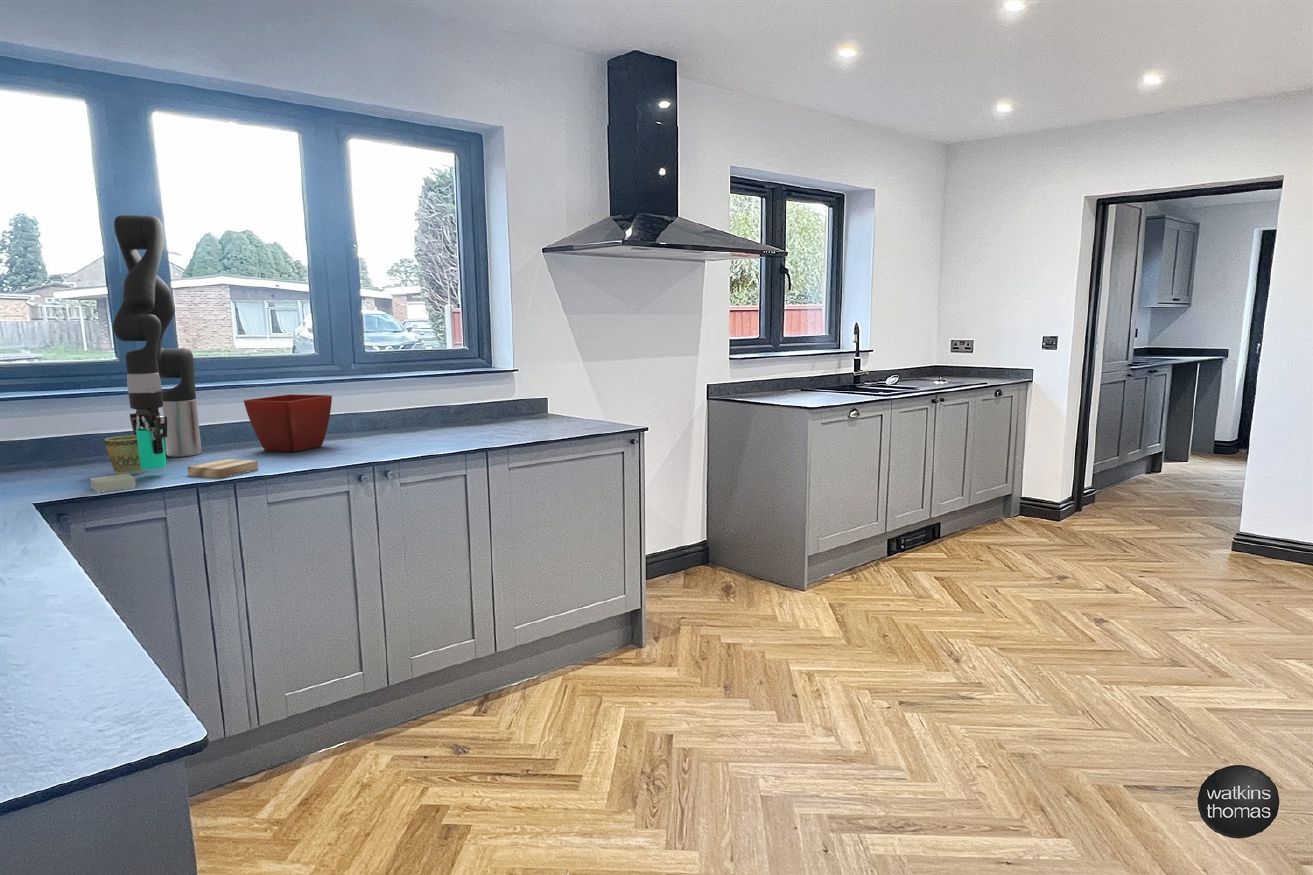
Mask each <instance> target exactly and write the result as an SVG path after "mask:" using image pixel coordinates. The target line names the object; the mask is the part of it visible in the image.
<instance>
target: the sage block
mask: <svg viewBox="0 0 1313 875" xmlns="http://www.w3.org/2000/svg"><path fill="white" fill-rule="evenodd" d="M89 481H90V488H92V490H93V489H94V490H95V491H94V490H93V491H94V492H96V491H97V492H103V491H111V492H114V491H113V490H118V491H121V490H120V489H125V490H128V489H127V488H132V489H135V488H134V487H136V488H137V483H136V477H135V476H134V475H129V474H120V475H116V474H113V475H106V476H104V475H103V476H99V477H97V476H96V477H92V478H90V477H89ZM97 492H96V493H97ZM103 493H104V492H103Z"/></svg>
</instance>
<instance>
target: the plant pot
mask: <svg viewBox="0 0 1313 875" xmlns="http://www.w3.org/2000/svg"><path fill="white" fill-rule="evenodd" d="M332 400H333V395H330V394H329V395H328V394H327V395H326V394H293V393H292V394H282V395H272V396H267V397H266V396H265V397H258V398H250V399H244V400H243V404H244V408H245V410H246V414H247V416H248V419H249V423H250V425H251V426H252V429H253V432H254V433H255V435H256V437H257V439H258V441H259V443H260V445H261V447H262V449H263V450H264V451H266V450H268V451H267V452H270V451H271V452H284V453H285V452H287V453H291V452H292V453H294V452H300V451H305V450H308V449H314V448H319V447H322V446H323V443H324V440H325V439H326V438H325V437H326V435H327V429H328V426H329V422H330V415H331V411H332Z"/></svg>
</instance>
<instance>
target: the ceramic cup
mask: <svg viewBox="0 0 1313 875" xmlns="http://www.w3.org/2000/svg"><path fill="white" fill-rule="evenodd" d="M103 441H104V445H105V448H106V452H107V454H108V457H109V460H110V463H111V465H112V470H113V472H114V475H120V474H129V475H131V476H135V475H141V474H142V473H145V471H146V469H141V467H140V459H139V451H138V443H137V435H134V434H133V435H131V434H130V435H118V436H112V437H107V438H105V439H103Z"/></svg>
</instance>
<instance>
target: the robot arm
mask: <svg viewBox="0 0 1313 875" xmlns="http://www.w3.org/2000/svg"><path fill="white" fill-rule="evenodd" d="M113 226H114V234H115V237H116V239H117V244H118V246H119V249H120V251H121V254H122V256H123V260H124V263H125V265H126V267H127V271H128V273H127V276H126V277H125V279H124V282H123V292H122V293H123V294H122V296H123V297H122V302H121V305H120V306H119V310H118V312H117V313H116V315H115V316H114V319H113V323H112V331H113V333H114V336H115V337H116V338H117V339H118V340H120V341H122V342H146V343H145V345H144V347H142V348H139V349H135V350H130V351H127V352H126V353H125V356H124V357H125V358H124V359H125V366H126V373H127V375H126V377H127V379H126V380H127V381H126V384H127V394H128V401H129V407H130V409H132V410H136V411H135V413H129V418H130V423H131V427H132V432H133V435H136V429H138V430H142V431H143V430H147V432H149V433H150V435H151V437H152V445H153V453H154V454H160V453H163V444H162V439H164V444H165V454H166V455H167V457H172V458H173V457H176V458H177V457H188V456H195V455H201V454H202V453H201V452H202V444H201V443H202V441H201V434H200V432H201V431H200V426H199V425H200V423H199V413H198V405H197V396H196V392H197V391H196V380H195V379H196V378H195V360H194V355H193V352H192V351H191V349H189V348H186V347H184V348H183V347H175V348H174V347H173V348H172V347H170V348H164V346H163V342H162V341H163V337H164V334H165V332H166V331H167V329H168V327H169V326H170V324H171V322H172V320H173V318H174V316H175V312H176V308H175V303H174V298H173V295H172V291H171V288H170V287H169V285H168V284H167V283H166V282H165V281H164V280H163V279H162V278H161V277H160V276H159V275H158V273H159V268H160V264H161V260H162V255H163V251H164V245H165V230H164V226H163V223H162V221H161V220H160V219H159V217H157V216H155V215H136V214H135V215H130V214H129V215H128V214H126V215H125V214H123V215H118V216H116V217H115V219H114V223H113ZM138 250H146V251H145V253H144V254H143V256H142V257H141V255H140V253H139V252H138ZM161 379H180V382H179V384H177V385H176V386H174V387H172V388H169V389H168V388H167V389H166V390H163V389H162V380H161ZM159 408H162V415H161V414H160V411H159ZM162 430H163V433H162ZM154 431H155V433H154Z"/></svg>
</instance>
